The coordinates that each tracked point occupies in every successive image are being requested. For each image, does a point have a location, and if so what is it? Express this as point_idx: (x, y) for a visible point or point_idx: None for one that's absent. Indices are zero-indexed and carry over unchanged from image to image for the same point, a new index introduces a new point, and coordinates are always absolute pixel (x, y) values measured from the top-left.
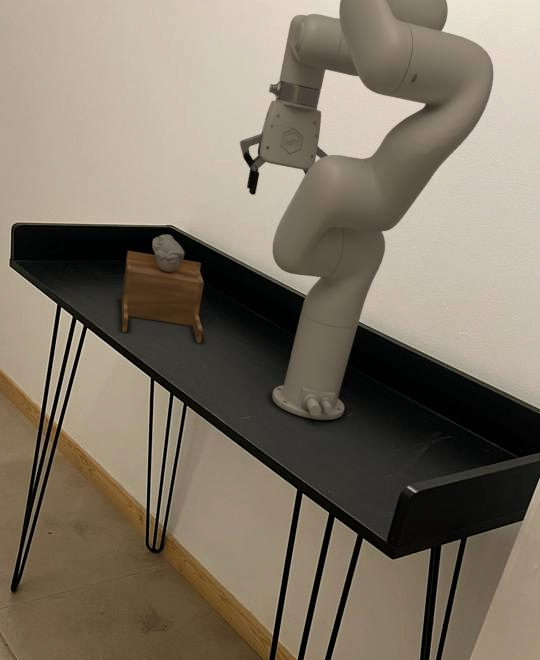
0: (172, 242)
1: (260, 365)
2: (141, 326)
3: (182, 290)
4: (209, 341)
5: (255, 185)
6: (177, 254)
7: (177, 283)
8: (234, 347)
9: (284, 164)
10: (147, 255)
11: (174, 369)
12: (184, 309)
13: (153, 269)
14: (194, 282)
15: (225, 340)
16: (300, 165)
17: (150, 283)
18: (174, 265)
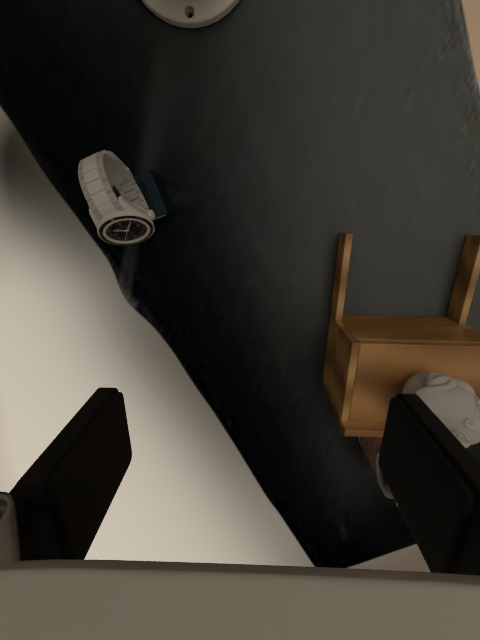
0: (456, 411)
1: (248, 156)
2: (429, 276)
3: (384, 335)
4: (321, 249)
5: (429, 421)
6: (432, 385)
7: (401, 340)
8: (280, 235)
9: (303, 574)
10: None
11: (424, 59)
12: (362, 323)
13: None
14: (371, 342)
15: (290, 266)
16: (60, 594)
17: (449, 338)
18: (420, 375)
